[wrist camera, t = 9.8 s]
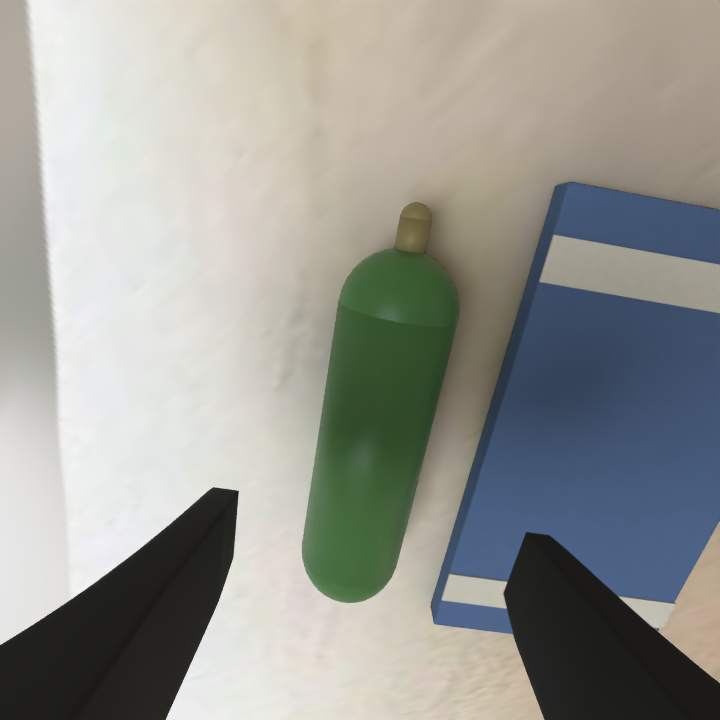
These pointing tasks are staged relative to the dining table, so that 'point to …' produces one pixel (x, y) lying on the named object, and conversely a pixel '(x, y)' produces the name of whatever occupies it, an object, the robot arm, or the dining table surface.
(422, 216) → the courgette
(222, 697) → the dining table surface
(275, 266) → the dining table surface
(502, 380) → the towel
